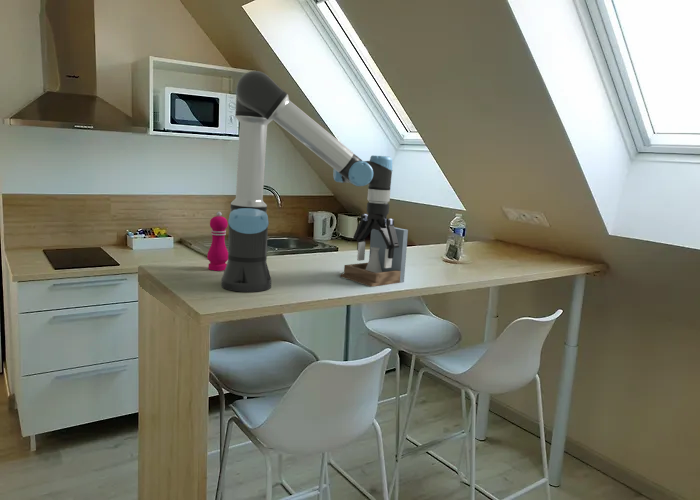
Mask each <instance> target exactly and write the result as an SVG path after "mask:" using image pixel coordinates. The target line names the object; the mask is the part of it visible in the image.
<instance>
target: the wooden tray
mask: <svg viewBox="0 0 700 500" xmlns="http://www.w3.org/2000/svg"><path fill="white" fill-rule="evenodd" d="M367 264H368V262H362V263H361V262H360V263H351V264H344V267H343V273H340V278H344V279H346V280H349V281H353V282H354V283H355V282H356V283H359V284H362V285H366V286H368V287H371V288H372V287H377V286H379V287H380V286H386V285H393V284H400V274H401V271H398V270H396V271H388V272H380V273H375V272H371V271H368V270H365V269H366V267H367Z"/></svg>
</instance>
